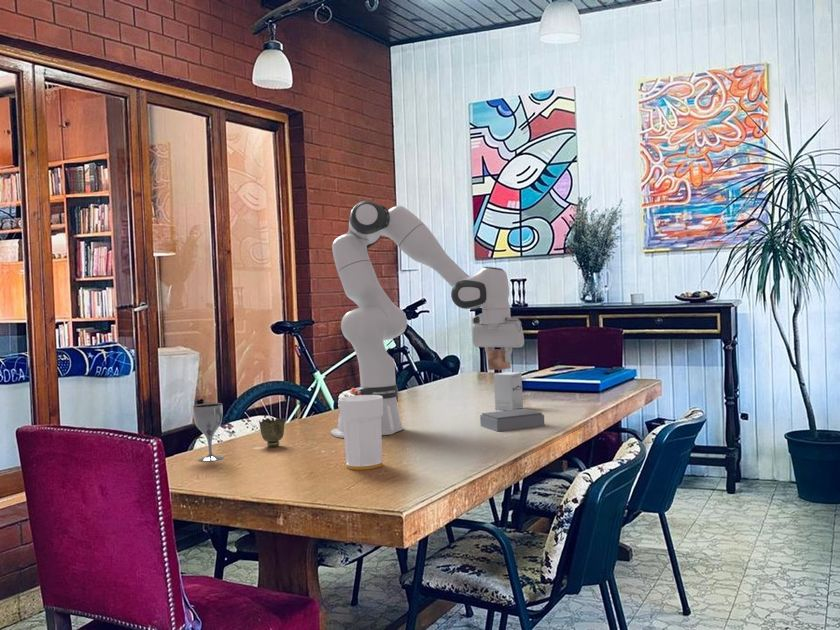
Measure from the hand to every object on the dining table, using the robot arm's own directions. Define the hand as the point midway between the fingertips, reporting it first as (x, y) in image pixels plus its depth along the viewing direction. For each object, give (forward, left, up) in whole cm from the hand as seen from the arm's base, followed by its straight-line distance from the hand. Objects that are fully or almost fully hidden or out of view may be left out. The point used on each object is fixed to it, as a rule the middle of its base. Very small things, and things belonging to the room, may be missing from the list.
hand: (499, 361), depth 272 cm
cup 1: (-72, +5, -20) cm, 75 cm away
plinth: (0, -7, -20) cm, 21 cm away
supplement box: (+15, +25, -20) cm, 35 cm away
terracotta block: (0, 0, -2) cm, 2 cm away
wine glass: (-91, -3, -20) cm, 93 cm away
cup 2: (-57, -37, -20) cm, 71 cm away
